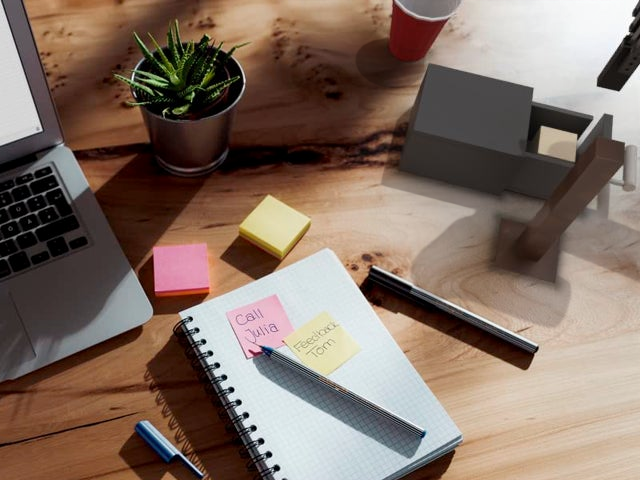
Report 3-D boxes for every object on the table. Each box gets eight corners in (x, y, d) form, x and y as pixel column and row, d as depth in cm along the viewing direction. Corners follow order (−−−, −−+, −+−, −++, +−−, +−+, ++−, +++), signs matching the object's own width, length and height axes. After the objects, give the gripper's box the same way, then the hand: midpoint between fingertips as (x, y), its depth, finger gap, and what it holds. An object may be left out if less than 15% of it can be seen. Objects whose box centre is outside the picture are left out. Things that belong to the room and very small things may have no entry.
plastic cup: (394, 86, 103) (415, 23, 92) (361, 40, 107) (377, -26, 96) (453, 67, 105) (481, 3, 94) (418, 22, 109) (440, -44, 98)
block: (560, 157, 95) (577, 134, 90) (557, 184, 93) (575, 162, 88) (525, 148, 95) (541, 125, 91) (522, 175, 93) (537, 152, 89)
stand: (556, 237, 91) (649, 130, 71) (551, 286, 88) (648, 188, 68) (498, 222, 92) (575, 112, 72) (491, 270, 88) (569, 168, 69)
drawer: (617, 160, 96) (649, 123, 89) (614, 222, 91) (647, 189, 84) (493, 129, 98) (514, 91, 91) (483, 189, 93) (504, 154, 86)
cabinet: (506, 134, 99) (534, 87, 90) (496, 200, 94) (524, 157, 85) (411, 110, 101) (429, 62, 92) (395, 174, 95) (413, 129, 86)
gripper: (702, -161, 62) (580, 40, 83) (705, -76, 56) (573, 117, 77) (786, -146, 61) (641, 54, 82) (798, -58, 55) (638, 132, 76)
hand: (608, 84), depth 79 cm, fingers closed
